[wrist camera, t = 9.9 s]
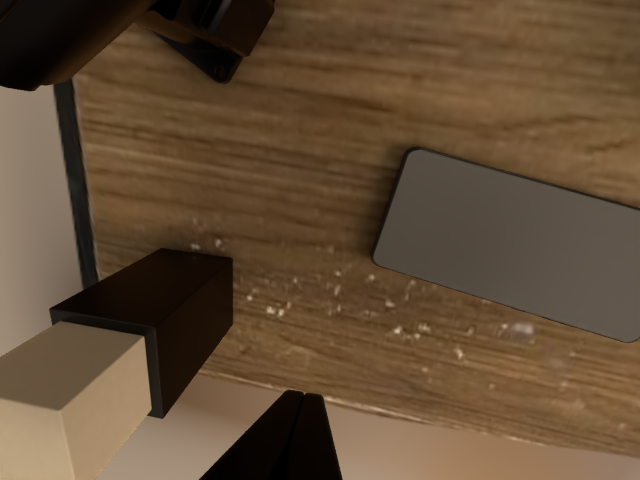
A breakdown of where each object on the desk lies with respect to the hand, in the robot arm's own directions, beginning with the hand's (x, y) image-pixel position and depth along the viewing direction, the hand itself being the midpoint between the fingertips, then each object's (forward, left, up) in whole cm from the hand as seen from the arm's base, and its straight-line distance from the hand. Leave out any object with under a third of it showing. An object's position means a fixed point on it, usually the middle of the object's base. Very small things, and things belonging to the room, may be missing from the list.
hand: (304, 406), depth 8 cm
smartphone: (+7, +6, -13) cm, 16 cm away
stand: (-6, -9, -13) cm, 17 cm away
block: (-6, -9, -5) cm, 12 cm away
